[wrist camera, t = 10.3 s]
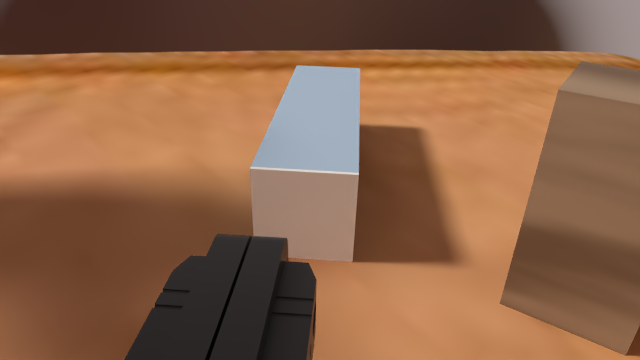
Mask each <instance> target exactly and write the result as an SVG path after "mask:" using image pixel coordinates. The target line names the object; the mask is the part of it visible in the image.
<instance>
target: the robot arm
mask: <svg viewBox="0 0 640 360" xmlns="http://www.w3.org/2000/svg"><path fill="white" fill-rule="evenodd" d="M315 322H316V278H315V276H314V274H313V271H312V269H311V267H310V265H309V263H302V262H288V240H287V238H280V237H263V236H253V237H252V236H244V235H228V234H217V235H216V237H215V239H214V241H213V243H212V245H211V247H210V249H209V252H208V254H207V256H206V257H205V256H190V257H189V258H188V259H186V260H185V261H184V262H183V263H182V264H180V265H179V266H178V267H177V268H176V269H174V270H173V272H172V274H171V275H170V277H169V279H168V281H167V283H166V284H165V286H164V288H163V293H162V292H161V294H160V295H159V297H158V299H157V301H156V303H155V307H154V308H152V310H151V312H150V314H149V316H148V317H147V319H146V321H145V323H144V325H143V327H142V328H141V330H140V332H139V334H138V336H137V338H136V339H135V341H134V343H133V345H132V347H131V349H130V350H129V352H128V354H127V356H126V358H125V359H124V360H312V358H313V349H314V340H315Z"/></svg>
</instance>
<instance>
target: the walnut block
mask: <svg viewBox="0 0 640 360" xmlns="http://www.w3.org/2000/svg"><path fill="white" fill-rule="evenodd" d="M500 304H503V305H505V306H507V307H510V308H512V309H515V310H517V311H519V312H522V313H524V314H527V315H529V316H532V317H534V318H536V319H539V320H541V321H544V322H546V323H549V324H551V325H553V326H556V327H558V328H561V329H563V330H565V331H568V332H570V333H573V334H575V335H578V336H580V337H582V338H585V339H587V340H590V341H592V342H595V343H597V344H599V345H602V346H604V347H607V348H609V349H612V350H614V351H616V352H619V353H621V354H624V355H626V354H627V351H628V349H629V347H630V345H631V343H632V341H633V339H634V337H635V335H636V333H637V331H638V328H639V326H640V70H635V69H628V68H622V67H615V66H608V65H602V64H595V63H589V62H581V63H580V64H579V65H578V67H577V68H576V69H575V70H574V71H573V73H572V74H571V75H570V76H569V77H568V79H567V80H566V81H565V82H564V84H563V85H562V86H561V87H560V88H559V90H558V93H557V97H556V101H555V104H554V108H553V112H552V115H551V119H550V123H549V126H548V130H547V133H546V137H545V141H544V144H543V148H542V152H541V155H540V159H539V163H538V166H537V170H536V174H535V177H534V181H533V185H532V188H531V192H530V196H529V199H528V203H527V207H526V210H525V214H524V217H523V221H522V225H521V228H520V232H519V236H518V239H517V243H516V247H515V250H514V254H513V258H512V261H511V265H510V269H509V272H508V276H507V280H506V283H505V287H504V291H503V294H502V298H501V301H500Z"/></svg>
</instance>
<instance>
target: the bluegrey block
mask: <svg viewBox="0 0 640 360" xmlns="http://www.w3.org/2000/svg"><path fill="white" fill-rule="evenodd" d="M359 116H360V68H341V67H319V66H297V67H296V69H295V71H294V73H293V75H292V77H291V80H290V82H289V84H288V86H287V88H286V91H285V93H284V95H283V97H282V99H281V102H280V104H279V106H278V108H277V110H276V113H275V115H274V117H273V119H272V121H271V123H270V126H269V128H268V130H267V132H266V134H265V137H264V139H263V141H262V143H261V145H260V148H259V150H258V152H257V154H256V156H255V158H254V161H253V163H252V165H251V167H250V181H251V200H252V218H253V236H263V237H280V238H287V240H288V258H299V259H313V260H328V261H343V262H353V249H354V236H355V222H356V208H357V194H358V180H359Z"/></svg>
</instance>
